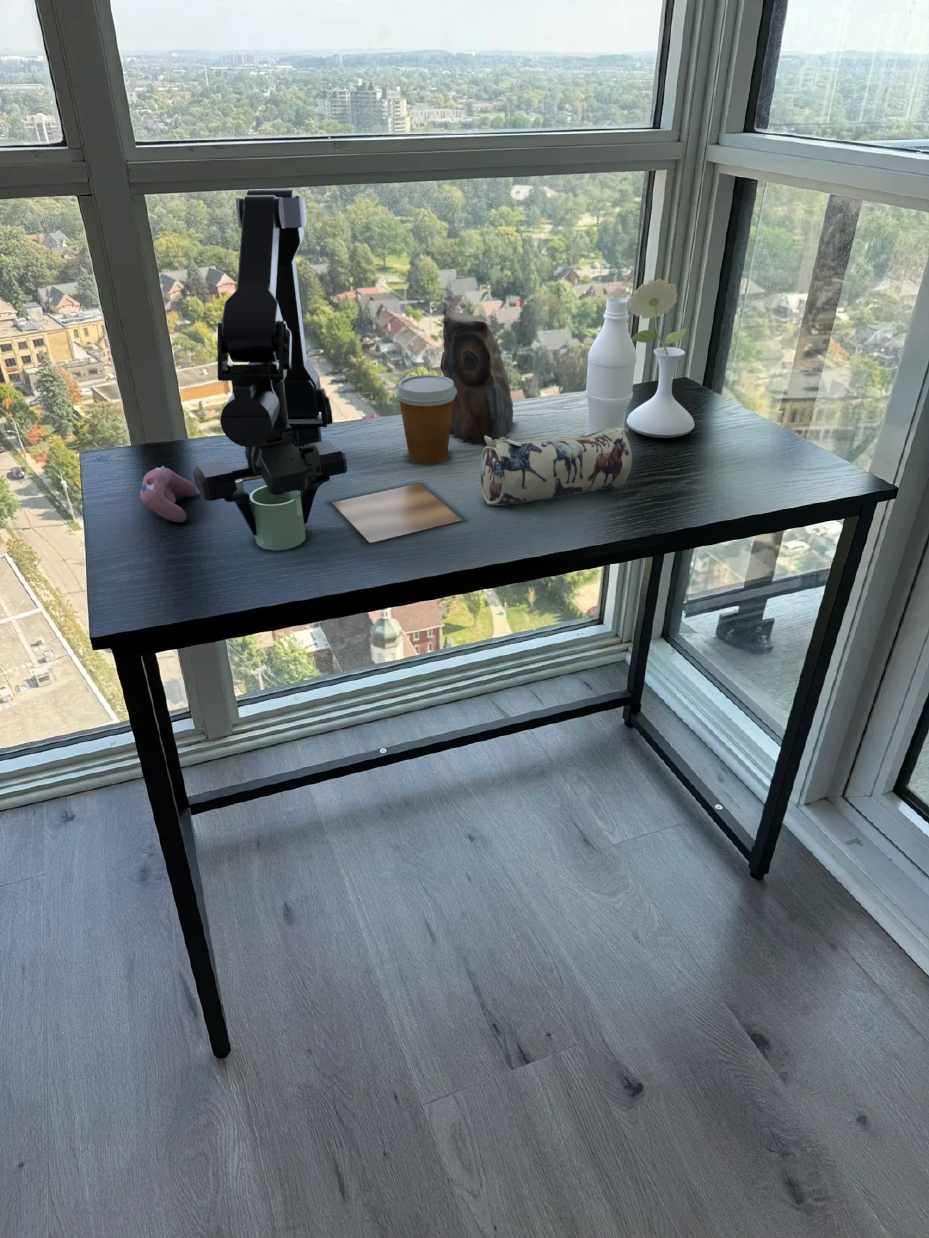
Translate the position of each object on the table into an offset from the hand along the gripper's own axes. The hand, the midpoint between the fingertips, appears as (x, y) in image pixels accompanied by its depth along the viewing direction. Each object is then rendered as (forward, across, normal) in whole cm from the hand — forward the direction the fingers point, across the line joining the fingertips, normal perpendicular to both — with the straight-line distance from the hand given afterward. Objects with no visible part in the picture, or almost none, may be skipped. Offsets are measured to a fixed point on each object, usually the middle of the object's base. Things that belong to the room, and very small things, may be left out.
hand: (279, 528), depth 115 cm
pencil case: (+2, +40, -6) cm, 40 cm away
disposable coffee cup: (+2, +30, +16) cm, 34 cm away
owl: (+2, +43, +21) cm, 48 cm away
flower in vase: (+2, +69, +7) cm, 69 cm away
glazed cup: (+2, 0, 0) cm, 2 cm away
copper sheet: (+2, +17, 0) cm, 17 cm away
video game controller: (+2, -11, +16) cm, 19 cm away
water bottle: (+2, +53, 0) cm, 53 cm away
